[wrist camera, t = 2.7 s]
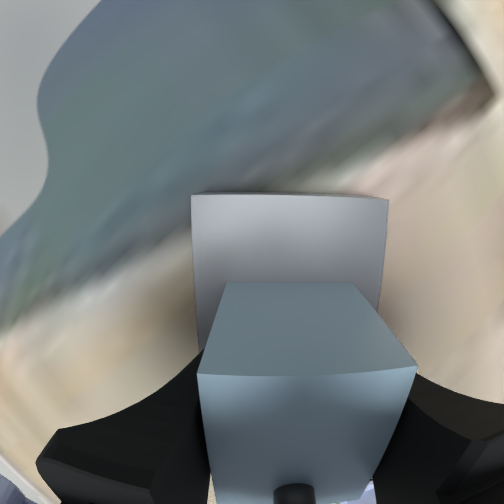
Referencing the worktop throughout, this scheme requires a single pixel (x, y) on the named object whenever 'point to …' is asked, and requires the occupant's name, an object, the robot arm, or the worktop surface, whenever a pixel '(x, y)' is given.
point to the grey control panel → (284, 243)
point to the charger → (299, 393)
